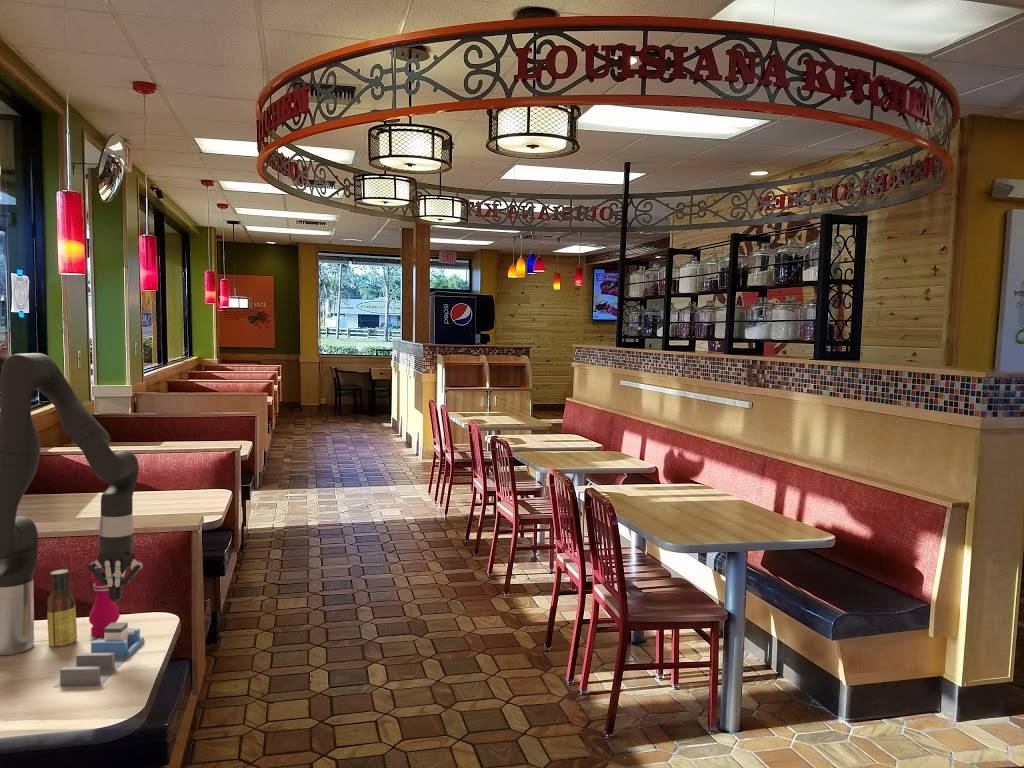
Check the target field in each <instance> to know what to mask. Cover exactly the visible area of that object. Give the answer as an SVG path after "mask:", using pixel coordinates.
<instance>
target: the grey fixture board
mask: <svg viewBox="0 0 1024 768" xmlns="http://www.w3.org/2000/svg"><path fill="white" fill-rule="evenodd" d="M145 642H146V640H145V636H141V629H140V628H137V627H136V628H135V627H134V628H128V640H125V639H121V640H104V639H95V640H92V641H91V642H90V652H79V653H78V654H77V655H76V656H75V657H76V660H75V661H76V662H75V666H63V667H62V668H60V669H59V677H60V678H59V681H58V682H57V683H56V684H55V685H54V686H53V688H95V687H99V688H101V686H102V685H103V684H105V683H106V681H107V680H108V679H109V678H111V677H112V675H114V673H115V672H116V671H117V670H118V669H119V668H120V667H121V666H122V665H123V664H124V663H125V662H126V661H127V660H128V659H129V658H130V657H131V655H133V654H134V653H135V652H136V650H138V649H139V647H141V646H142V644H144V643H145Z"/></svg>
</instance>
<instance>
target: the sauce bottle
mask: <svg viewBox="0 0 1024 768" xmlns="http://www.w3.org/2000/svg"><path fill="white" fill-rule="evenodd" d="M69 572H70V571H69V570H68V569H64V568H63V569H56V570H53V571H51V572H50V574H49V575H50V579H51V592H50V594H49V596H48V598H47V601H46V603H47V604H46V607H47V610H46V614H47V617H46V618H47V633H48V635H47V637H48V646H50V647H53V648H63V647H69V646H72V645H73V644H75V643H76V642H77V640H78V632H77V631H78V627H77V611H76V610H77V609H76V607H77V606H76V600H75V598H74V595H73V592H72V590H71V588H70V585H69V584H70V583H69V577H70V573H69Z"/></svg>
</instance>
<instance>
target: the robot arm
mask: <svg viewBox="0 0 1024 768" xmlns="http://www.w3.org/2000/svg"><path fill="white" fill-rule="evenodd" d="M34 391H38V392H40V393H41V394H42V395H44V396H45V397H46V399H48V400H49V401H50V402H51V404H52V405H53V406H54V408H55V411H56V413H57V415H58V419H59V421H60V424H61V427H62V429H63V431H64V432H65V434H66V435H67V436H68V437H69V439H71V441H72V442H73V443H74V444H75V445H76V446H77V447H78V448H79V450H81V451H82V453H83V454H84V458H85V460H86V461H87V463H88V465H89V466H90V469H91V470H92V472H93V474H94V475H95V476H96V477H97V478H99V480H102V481H103V482H105V483H109V485H108V487H107V489H106V490H105V491H103V492H102V494H101V497H100V517H99V524H98V525H99V527H98V534H99V535H98V539H99V540H98V552H99V553H98V555H97V556H96V557H97V559H96V560H95V561H92V562H91V563H90V564H88V565H87V568H88V570H89V571H90V572H91V574H92V573H93V575H94V576H95V577H96V578H97V580H98V581H99V582H100V583H101V584H106V585H108V587H109V599H111V601H115V602H119V600H121V599H122V597H123V596H124V585H127V584H129V583H130V582H131V581H132V580H133V579H134V577H135V576H136V575H137V574H138V573H139V571H140V570H141V569H142V568H143V567H144V565H145V564H144V562H142V561H141V562H139V561H137V560H136V559H135V558H136V557H135V554H134V552H133V550H134V517H133V515H134V514H133V507H134V506H133V503H134V501H133V495H134V491H135V489H136V484H137V481H138V476H139V472H140V471H139V470H140V468H139V467H140V465H139V459H138V458H137V455H135V454H134V453H133V452H132V451H129V450H124V449H123V450H119V451H113V450H112V449H111V447H110V446H109V444H110V442H111V435H110V434H109V433H108V432H107V430H106V429H105V428H104V427H103V426H102V425H101V424H100V423H99V421H98V420H96V418H95V417H94V416H93V415H92V413H90V412H89V411H88V409H87V408H86V406H85V405H84V404H83V402H82V401H81V400H80V398H79V397H78V396H77V394H76V393H75V391H74V389H73V387H71V385H70V384H69V382H68V381H67V379H66V377H65V376H64V374H63V372H62V371H61V369H60V368H59V366H58V365H57V364H56V362H55V360H53V359H52V357H50V356H49V355H47V354H44V353H41V352H31V353H27V352H25V353H14V354H11V355H9V356H7V358H6V359H5V360H4V362H3V364H2V366H1V369H0V560H1V561H0V656H9V655H16V654H19V653H23V652H25V651H26V652H27V651H29V650H31V649H32V648H33V647H34V646H35V611H34V610H35V605H34V604H35V603H34V602H35V600H34V599H35V598H34V593H35V591H34V573H35V570H36V568H37V566H38V565H37V564H38V555H39V554H38V549H39V533H38V528H37V525H36V524H35V522H34V521H33V520H32V519H31V518H29V517H27V516H24V515H17V512H18V507H19V505H20V502H21V500H22V498H23V496H24V495H25V493H26V491H27V490H28V489H29V486H30V485H31V483H32V481H33V480H34V477H35V476H36V474H37V472H38V468H39V461H40V454H41V441H40V440H41V439H40V436H39V433H38V431H37V429H36V426H35V424H34V422H33V419H32V412H31V411H32V401H33V394H34ZM101 566H102V567H103V569H104V570H105V571H106V573H105V572H104V571H103V569H102V568H101ZM129 567H130V569H131V571H130V572H129V573H128V574H127V575H126V570H128V568H129ZM125 575H126V576H125Z"/></svg>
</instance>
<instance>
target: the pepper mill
mask: <svg viewBox="0 0 1024 768" xmlns="http://www.w3.org/2000/svg"><path fill="white" fill-rule="evenodd" d="M101 568H102V569H103V567H102V566H101ZM103 571H104V572H105V573H106V571H105V570H104V569H103ZM90 577H91V580H92V583H93V591H95V600H94V603H93V606H92V607H91V610H90V612H89V615H88V621H89V624H91V625H92V627H91V628H90V635H91V636H92V635H93V636H92V637H94V636H104V629H105V628H106V627H107V626H108V625H109V624H110V623H117V622H118V621H119V619H120V609H119V607H118V605H117V603H116V601H111V599H109V587H108V585H106V584H101V583H100V582H99V581H98V580H97V578H96V577H95V576H94V575H93V573H92V572H91V576H90Z"/></svg>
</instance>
